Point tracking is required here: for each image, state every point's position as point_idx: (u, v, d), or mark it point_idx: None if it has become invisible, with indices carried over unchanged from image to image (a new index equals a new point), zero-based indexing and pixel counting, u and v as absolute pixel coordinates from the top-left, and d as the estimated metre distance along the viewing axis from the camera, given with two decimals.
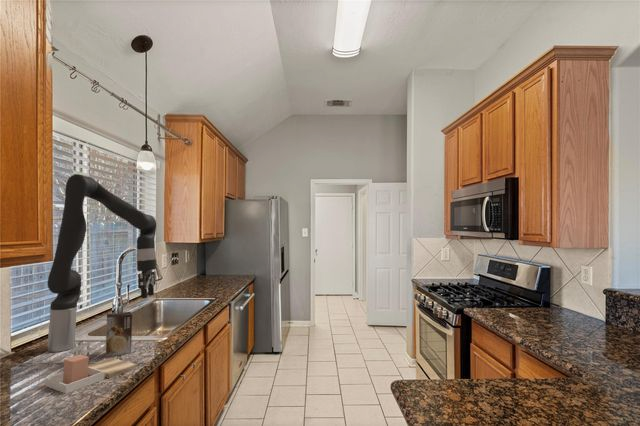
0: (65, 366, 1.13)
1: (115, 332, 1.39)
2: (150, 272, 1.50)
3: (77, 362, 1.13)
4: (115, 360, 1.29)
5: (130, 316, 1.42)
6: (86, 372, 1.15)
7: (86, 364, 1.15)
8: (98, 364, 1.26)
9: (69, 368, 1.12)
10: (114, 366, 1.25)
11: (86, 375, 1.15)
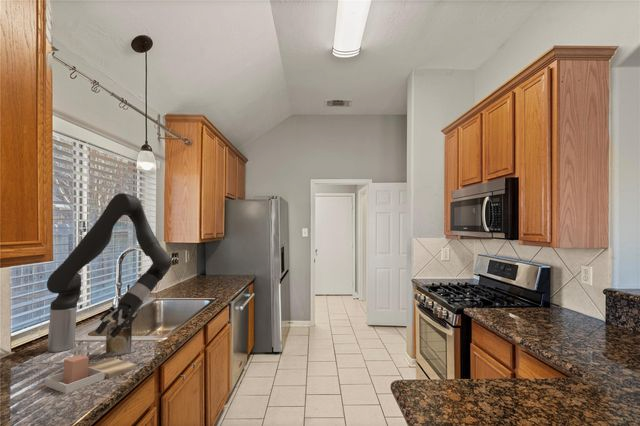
0: (65, 366, 1.13)
1: None
2: None
3: (77, 362, 1.13)
4: (115, 360, 1.29)
5: None
6: (86, 372, 1.15)
7: (86, 364, 1.15)
8: (98, 364, 1.26)
9: (69, 368, 1.12)
10: (114, 366, 1.25)
11: (86, 375, 1.15)
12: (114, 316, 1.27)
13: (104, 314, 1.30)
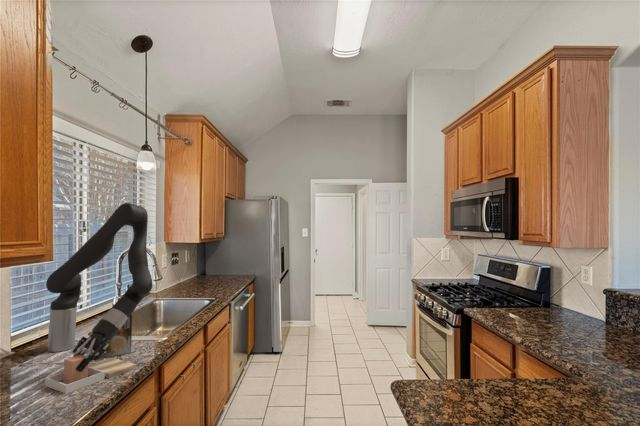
0: (65, 366, 1.13)
1: None
2: None
3: (77, 362, 1.13)
4: (115, 360, 1.29)
5: (130, 316, 1.42)
6: (86, 372, 1.15)
7: None
8: (98, 364, 1.26)
9: (69, 368, 1.12)
10: (114, 366, 1.25)
11: (86, 375, 1.15)
12: (87, 346, 1.19)
13: (76, 346, 1.20)
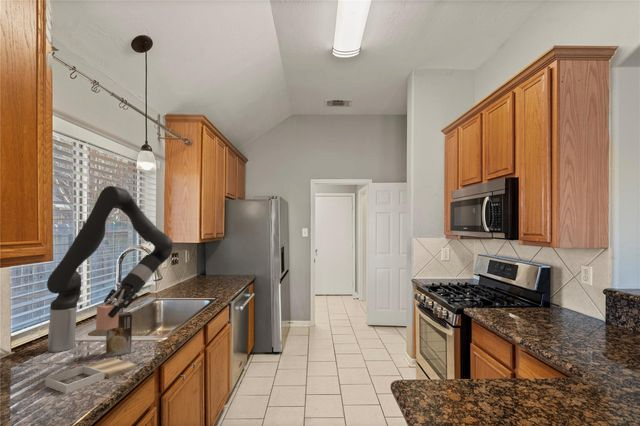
0: (98, 312, 1.23)
1: (115, 332, 1.39)
2: None
3: (109, 308, 1.22)
4: (115, 360, 1.29)
5: (130, 316, 1.42)
6: (117, 319, 1.25)
7: None
8: (98, 364, 1.26)
9: (102, 313, 1.22)
10: (114, 366, 1.25)
11: (117, 321, 1.25)
12: (117, 296, 1.28)
13: (107, 297, 1.30)
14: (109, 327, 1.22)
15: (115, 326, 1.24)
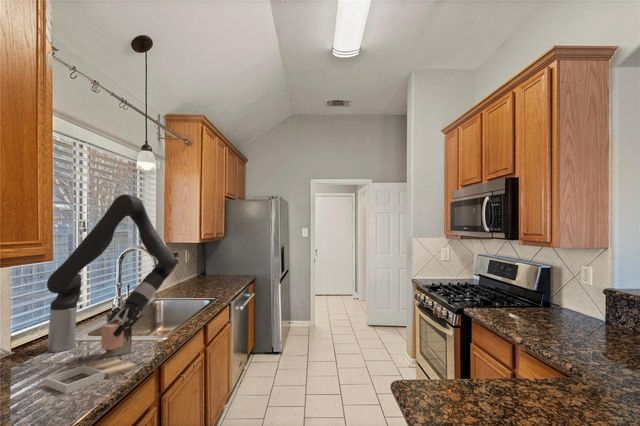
0: (103, 332, 1.24)
1: None
2: None
3: (114, 327, 1.24)
4: (115, 360, 1.29)
5: None
6: (122, 337, 1.26)
7: None
8: (98, 364, 1.26)
9: (107, 333, 1.23)
10: (114, 366, 1.25)
11: (122, 340, 1.26)
12: (121, 314, 1.30)
13: (111, 315, 1.31)
14: (114, 346, 1.24)
15: (120, 345, 1.26)
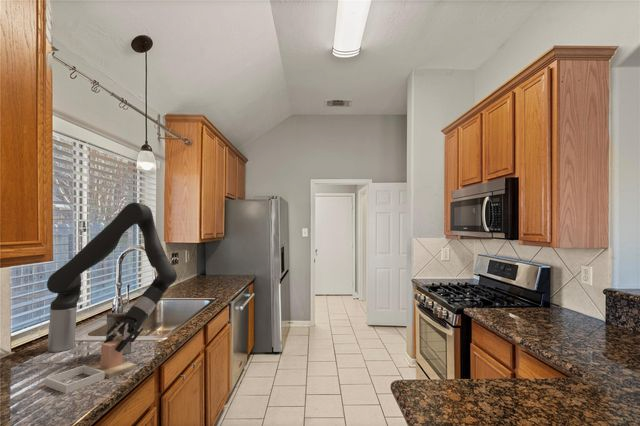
0: (102, 350, 1.24)
1: None
2: None
3: (113, 346, 1.24)
4: None
5: None
6: (121, 356, 1.26)
7: None
8: (98, 364, 1.26)
9: (106, 351, 1.23)
10: None
11: (121, 358, 1.26)
12: (120, 330, 1.29)
13: (110, 328, 1.32)
14: (113, 365, 1.24)
15: (119, 363, 1.26)
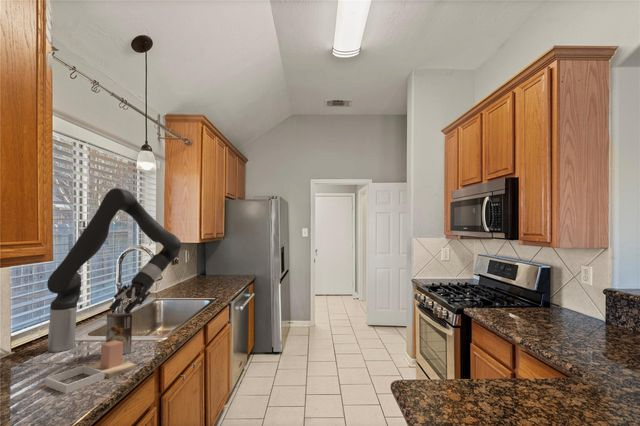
0: (102, 350, 1.24)
1: (115, 332, 1.39)
2: None
3: (113, 346, 1.24)
4: None
5: (130, 316, 1.42)
6: (121, 356, 1.26)
7: (121, 348, 1.26)
8: (98, 364, 1.26)
9: (106, 351, 1.23)
10: None
11: (121, 358, 1.26)
12: (127, 294, 1.32)
13: None
14: (113, 365, 1.24)
15: (119, 363, 1.26)
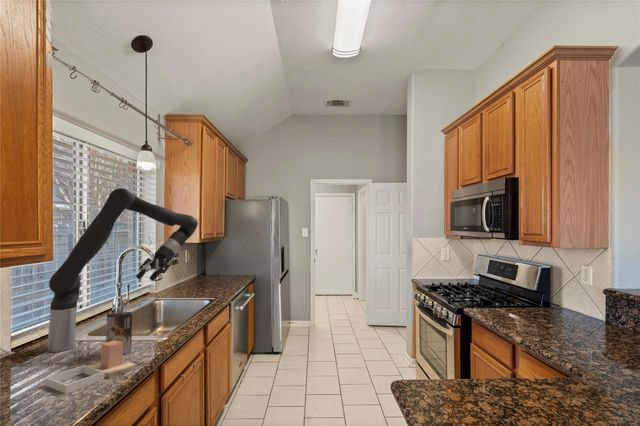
0: (102, 350, 1.24)
1: (115, 332, 1.39)
2: None
3: (113, 346, 1.24)
4: None
5: (130, 316, 1.42)
6: (121, 356, 1.26)
7: (121, 348, 1.26)
8: (98, 364, 1.26)
9: (106, 351, 1.23)
10: None
11: (121, 358, 1.26)
12: (151, 265, 1.49)
13: (142, 264, 1.51)
14: (113, 365, 1.24)
15: (119, 363, 1.26)
